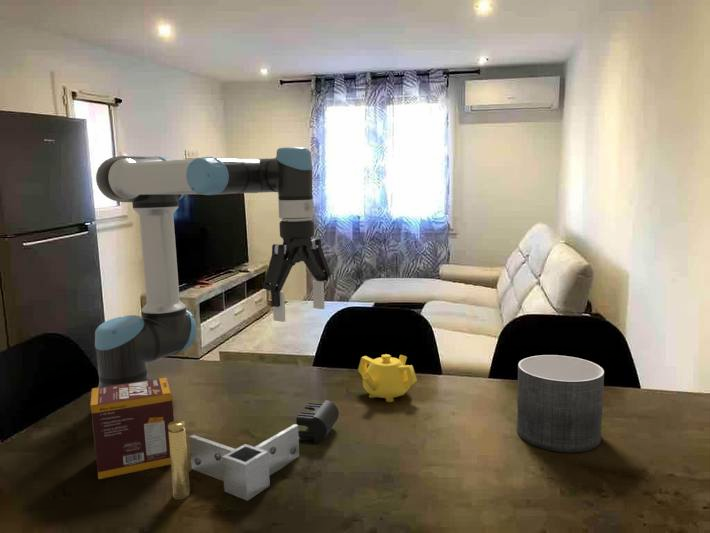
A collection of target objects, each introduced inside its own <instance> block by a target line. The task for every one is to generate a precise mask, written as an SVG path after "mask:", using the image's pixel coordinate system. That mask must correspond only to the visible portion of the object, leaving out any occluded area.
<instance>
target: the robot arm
mask: <svg viewBox="0 0 710 533" xmlns="http://www.w3.org/2000/svg"><path fill="white" fill-rule="evenodd" d="M313 169H314V167H313V161H312V152H311V150H310V149H309V148H308V147H304V146H303V147H302V146H301V147H299V146H292V147H291V146H289V147H287V146H284V147H279V148H277V150H276V156H275V157H273V158H248V157H247V158H239V157H238V158H237V157H233V158H232V157H231V158H230V157H215V156H203V157H202V156H201V157H196V158H188V159H184V158H183V159H172V158H169V157H162V156H157V155H155V156H137V155H136V156H131V155H129V156H128V155H118V156H114V157H110V158H107V159H106V160H104V161H103V162H102V163H100V164H99V167H98V169H96V170H97V171H96V173H95V175H96V176H95V182H96V185H97V188H98V189H99V191H100V192H101V193H102V194H103V195H104V196H105V197H106V198H108V199H110V200H111V201H114V202H118V203H132V210H133V211H135V212H136V213H137V214H138V215H139V225H140V237H141V247H142V248H141V249H142V261H143V273H144V286H145V299H146V304H145V305H143V307H142V308H141V312H140V313H141V316H140V315H137V314H135V315H133V314H132V315H131V314H130V315H124V316H118V317H115V318H111V319H109V320H106V321H103V323H101V324H99V325H98V327H96V329H95V332H94V347H95V354H96V363H97V374H98V386H97V388H99V387H106V386H113V385H120V384H127V383H134V382H140V381H147V380H150V378H149V376H148V364H147V363H150V362H154V361H156V360H160V359H163V358H167V357H170V356H174V355H178V354H179V353H181V352H183V351H187V350H188V349H189V348H190V347H191V346H192V345H193V344H194V342H195V340H196V336H197V327H198V326H197V323H196V319H195V318H193V317H194V315H193V313H192V312H190V310H187V306H186V304H185V303H184V302H183V301H181V300H180V286H179V272H178V262H177V261H178V258H177V247H176V246H177V245H176V234H175V232H176V231H175V222H174V221H175V220H174V219H175V218H174V214H175V212H176V211H177V210H178V209H179V208H180V207H179V201H180V200H181V199H182V198H184V197H185V195H203V196H204V195H205V196H215V195H230V194H235V195H236V194H261V193H263V194H264V193H277V198H278V199H277V201H278V218H279V219H281V220H280V221H279V236H280V238H281V239H282V244H280V243H278V244H277V243H274V244H272V246H271V257H270V261H269V264H268V267H267V270H266V274H265V278H264V281H263V283H262V284H263V285H262V288H263V290H265V291H268V292H270V298H271V299H270V300H271V306H272V311H273V312H272V314H273V321H275V322H276V321H277V322H279V323H280V322H282V323H283V322H286V304H285V303H286V300H285V291H284V290H282V289H283V287H284V285H285V283H286V281H287V278H288V276H289V275H290V273H291V271H292V269H293V266H295V265H296V264H297V263H300V262H303V263H304V264H305V266H306V267H307V269H308V271H309V272H310V273H311V275H312V277H313V278H314V280H312V302H313V304H312V305H313V306H312V307H313V309H317V310H325V293H326V290H325V288H326V287H325V286H326V285H325V283H326V281H329V277H331V274H332V273H331V269H330V268H329V265H328V262H327V259H326V257H325V253H324V251H323V248H322V241H321V238H313V237H314V236H315V221H314V220H313V219H312V218H313V217H314V197H313Z"/></svg>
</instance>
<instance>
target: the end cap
mask: <svg viewBox="0 0 710 533" xmlns="http://www.w3.org/2000/svg"><path fill="white" fill-rule="evenodd" d="M304 409H305V410H310V411H311V412H306V411H305V412H304V411H300V412H299V414H298V415H297V416H296V418H295V420H296V425H298V426H301V427H304V426H305V427H306V428H305V430H302V429H298V435H299V445H301V444H302V445H309V446H312V445H313V446H317V445H319V444H320V443H321V442H323V441H325V439H326V438H327V436H328V435H329V433H330V431H331V430H332V428H333V427H334V425H335V424H336V422H337V421H338V419H339V415H340V414H339V413H340V412H339V409H338V406H336V404H335V403H333V402H332V401H330V400H327V399H325V400H324V402H323V403H318V402H315V403H314V402H308V403H307V404H306V405H305V407H304Z"/></svg>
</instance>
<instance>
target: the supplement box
mask: <svg viewBox="0 0 710 533" xmlns="http://www.w3.org/2000/svg"><path fill="white" fill-rule="evenodd" d="M98 387H99V386H98ZM98 387H94V388H91V393H90V402H89V403H90V412H91V422H92V423H91V424H92V430H93V431H92V432H93V439H94V441H93V442H94V449H95V458H96V460H95V461H96V465H97V466H96V470H97V479H98V480H102V479H107V478H108V479H109V478H111V477H115V476H116V477H117V476H121V475H126V474H130V473H136V472H142V471H144V470H145V471H146V470H151V469H155V468H160V467H164V466H169V465H170V466H171V460H170V447H169V434H168V424H169V423H171V422H173V421H175V417H174V415H175V414H174V405H173V393H172V391H171V388H170V385H169V381H168V377H159V378H154V379H149V380H147V381H140V382H134V383H127V384H120V385H113V386H106V387H99V388H98Z"/></svg>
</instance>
